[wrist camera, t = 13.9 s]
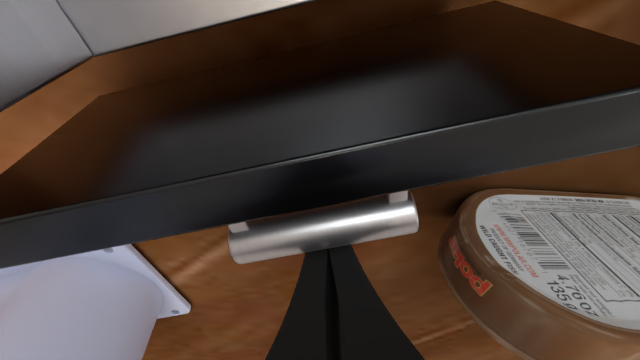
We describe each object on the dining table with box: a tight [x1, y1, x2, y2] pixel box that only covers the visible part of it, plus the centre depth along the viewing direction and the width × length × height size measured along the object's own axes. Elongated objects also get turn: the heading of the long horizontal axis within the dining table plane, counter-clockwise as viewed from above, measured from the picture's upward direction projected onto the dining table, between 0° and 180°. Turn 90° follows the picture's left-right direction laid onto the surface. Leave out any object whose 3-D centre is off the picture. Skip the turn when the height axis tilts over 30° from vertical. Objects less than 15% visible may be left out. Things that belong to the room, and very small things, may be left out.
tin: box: [438, 188, 640, 360], centre depth 13 cm, size 15×3×8 cm, turn 83°
